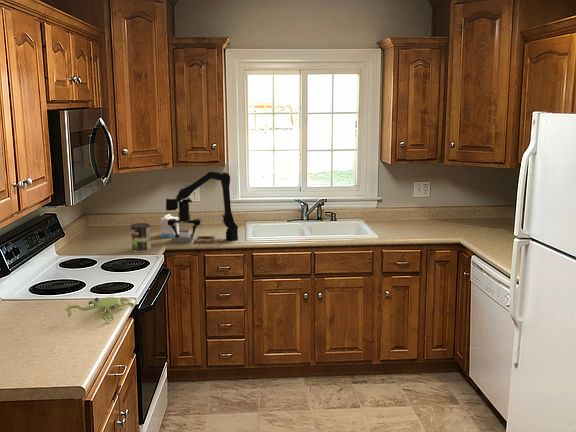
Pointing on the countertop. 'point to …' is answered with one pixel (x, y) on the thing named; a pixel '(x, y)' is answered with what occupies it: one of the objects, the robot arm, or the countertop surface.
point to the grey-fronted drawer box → (184, 233)
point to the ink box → (168, 226)
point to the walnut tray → (204, 239)
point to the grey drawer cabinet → (181, 239)
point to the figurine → (101, 305)
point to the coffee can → (140, 237)
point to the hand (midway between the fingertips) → (185, 236)
